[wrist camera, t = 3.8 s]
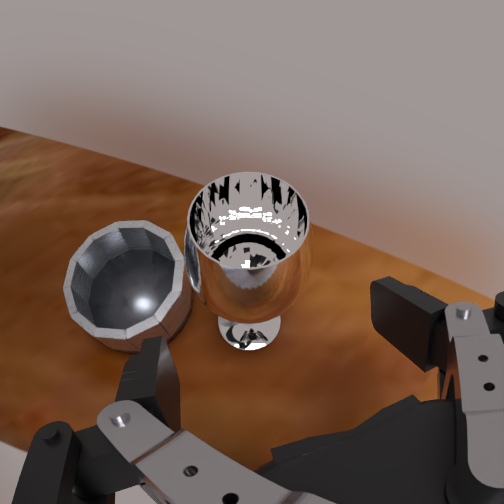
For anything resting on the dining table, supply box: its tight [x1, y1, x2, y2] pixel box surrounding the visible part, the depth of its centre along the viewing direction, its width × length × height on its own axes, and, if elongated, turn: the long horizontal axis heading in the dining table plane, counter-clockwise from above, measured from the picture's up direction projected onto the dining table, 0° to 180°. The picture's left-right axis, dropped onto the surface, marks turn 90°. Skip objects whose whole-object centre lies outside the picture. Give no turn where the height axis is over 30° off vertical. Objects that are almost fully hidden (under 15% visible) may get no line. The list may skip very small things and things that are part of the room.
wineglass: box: [184, 172, 313, 351], centre depth 17 cm, size 6×6×12 cm
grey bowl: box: [63, 220, 193, 354], centre depth 21 cm, size 9×9×4 cm
